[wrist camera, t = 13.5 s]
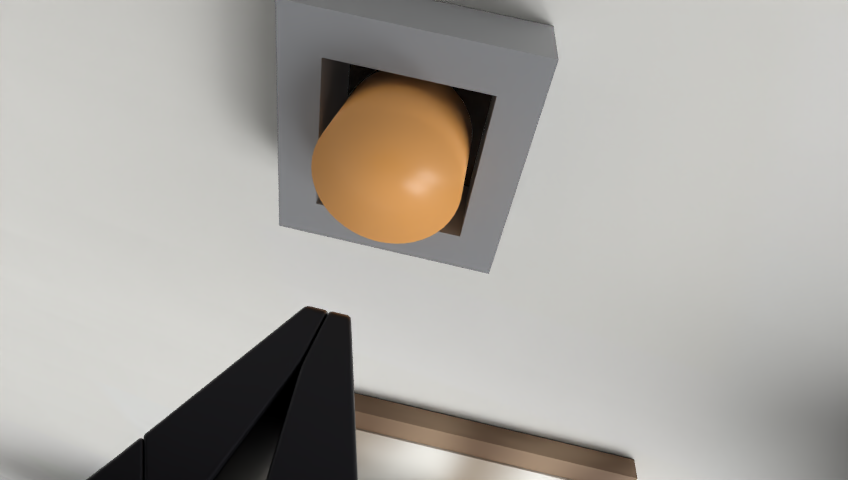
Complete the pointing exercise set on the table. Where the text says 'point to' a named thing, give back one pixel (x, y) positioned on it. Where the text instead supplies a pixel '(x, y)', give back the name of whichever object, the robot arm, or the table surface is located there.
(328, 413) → the robot arm
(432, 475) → the wooden picture frame
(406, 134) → the button
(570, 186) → the table surface
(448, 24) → the button housing
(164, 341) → the table surface
